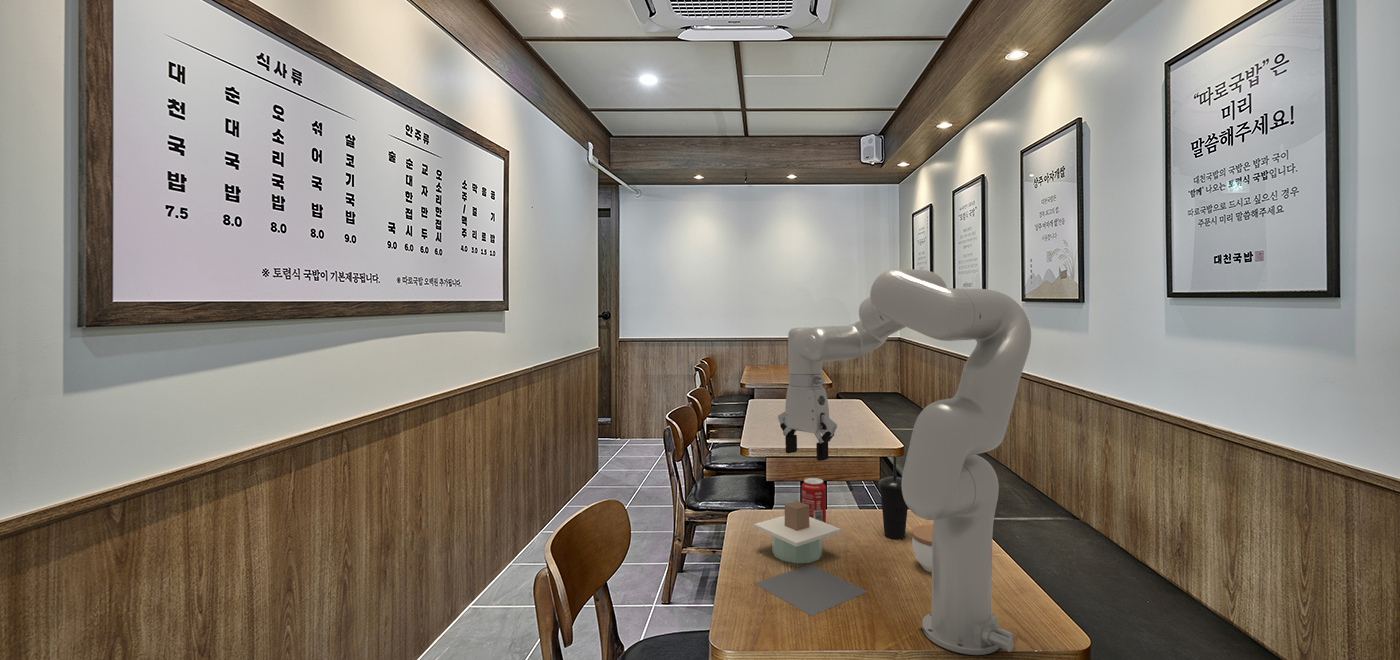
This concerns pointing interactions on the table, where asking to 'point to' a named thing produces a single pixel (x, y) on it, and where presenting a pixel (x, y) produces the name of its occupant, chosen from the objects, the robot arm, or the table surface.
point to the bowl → (797, 551)
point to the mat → (811, 589)
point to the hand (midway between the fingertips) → (806, 456)
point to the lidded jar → (923, 545)
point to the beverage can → (815, 498)
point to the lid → (797, 526)
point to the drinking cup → (893, 506)
